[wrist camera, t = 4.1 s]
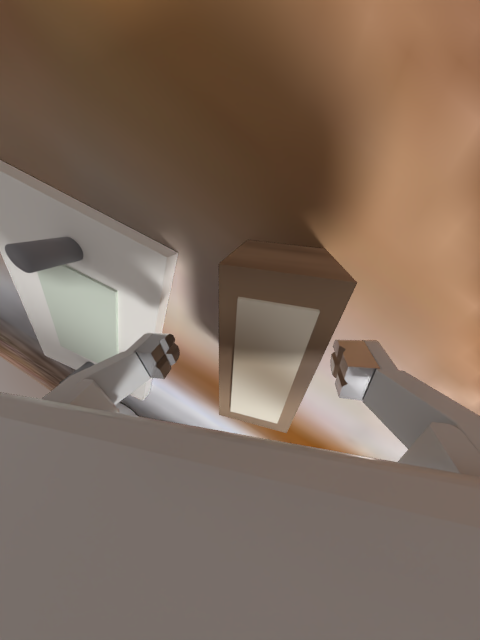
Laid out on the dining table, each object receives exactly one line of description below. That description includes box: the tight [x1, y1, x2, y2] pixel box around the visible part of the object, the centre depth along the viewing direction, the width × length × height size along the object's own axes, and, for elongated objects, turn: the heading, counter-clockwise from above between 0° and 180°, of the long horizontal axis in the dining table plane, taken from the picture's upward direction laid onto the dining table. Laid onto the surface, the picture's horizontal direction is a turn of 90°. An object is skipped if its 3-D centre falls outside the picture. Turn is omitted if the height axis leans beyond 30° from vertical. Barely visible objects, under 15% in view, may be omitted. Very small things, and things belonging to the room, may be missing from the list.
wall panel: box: [0, 160, 178, 401], centre depth 14 cm, size 18×12×4 cm, turn 156°
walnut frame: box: [219, 240, 357, 433], centre depth 10 cm, size 9×4×5 cm, turn 176°
